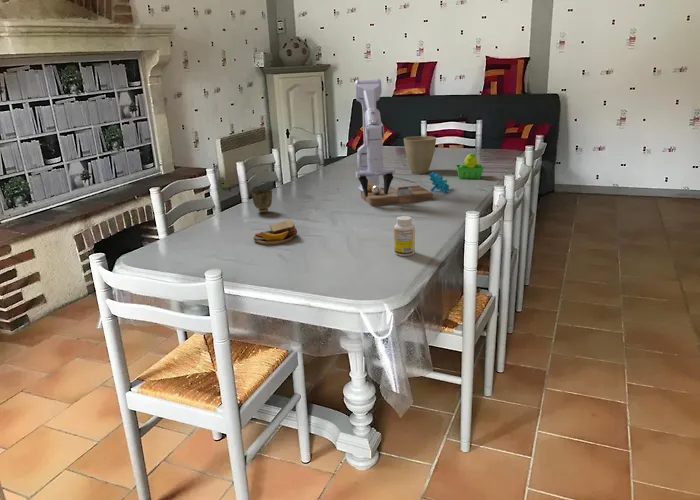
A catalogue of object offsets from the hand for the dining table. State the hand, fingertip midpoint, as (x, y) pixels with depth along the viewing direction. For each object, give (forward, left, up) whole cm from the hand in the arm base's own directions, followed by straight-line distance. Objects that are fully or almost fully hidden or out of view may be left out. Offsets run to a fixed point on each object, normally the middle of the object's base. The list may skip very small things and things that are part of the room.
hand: (376, 195), depth 208 cm
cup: (-5, -41, -4) cm, 42 cm away
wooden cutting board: (-5, +10, -3) cm, 12 cm away
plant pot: (-49, +37, -4) cm, 61 cm away
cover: (-3, +11, -1) cm, 11 cm away
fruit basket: (-28, +52, -4) cm, 59 cm away
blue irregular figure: (-9, +29, -4) cm, 31 cm away
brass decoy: (-10, 0, +1) cm, 10 cm away
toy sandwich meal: (+28, -42, -4) cm, 50 cm away
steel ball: (-5, +2, +1) cm, 5 cm away
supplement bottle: (+56, -9, -4) cm, 57 cm away
